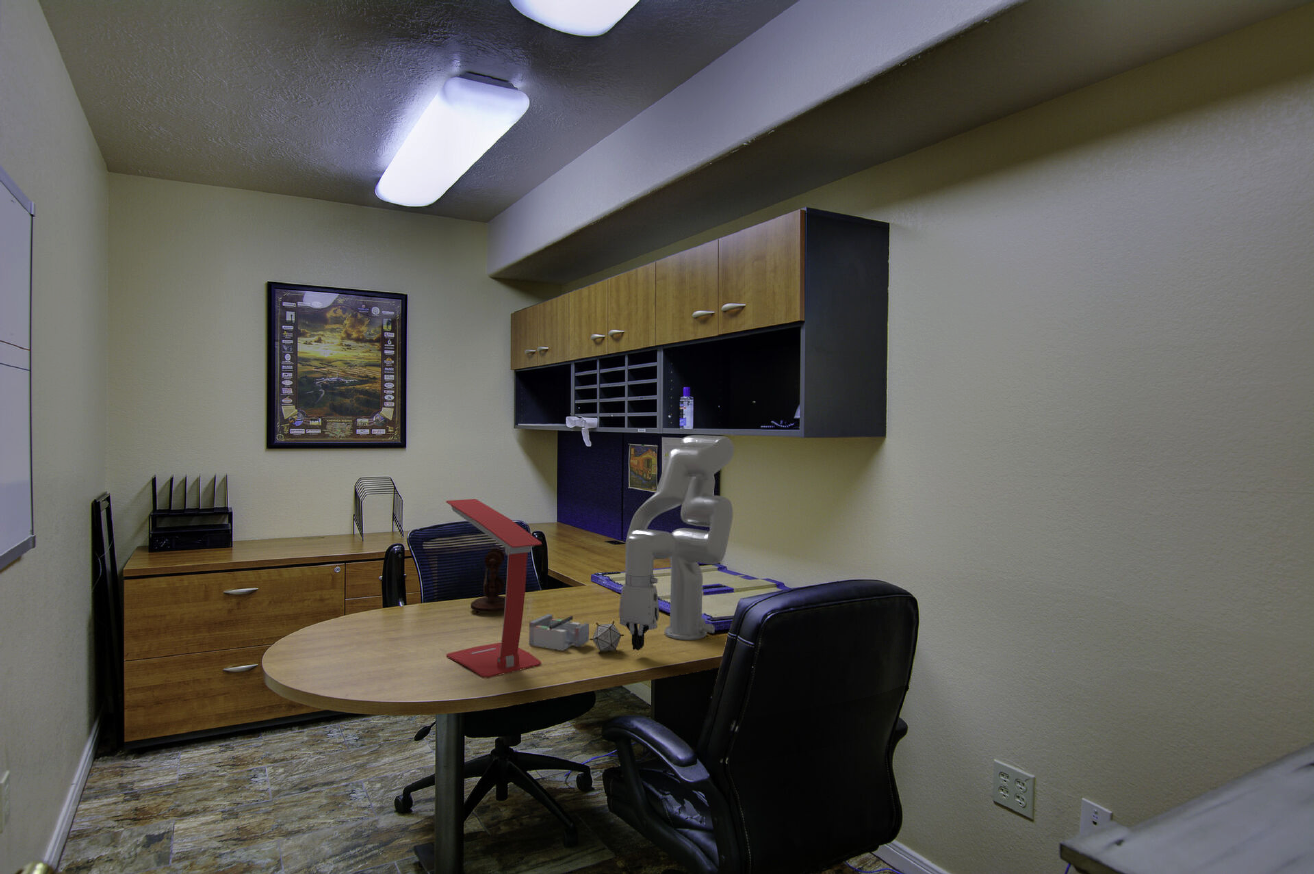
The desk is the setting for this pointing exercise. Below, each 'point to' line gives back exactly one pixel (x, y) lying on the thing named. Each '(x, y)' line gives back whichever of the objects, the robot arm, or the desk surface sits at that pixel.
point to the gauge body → (550, 633)
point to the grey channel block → (574, 632)
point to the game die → (606, 637)
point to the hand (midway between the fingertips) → (637, 648)
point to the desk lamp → (516, 547)
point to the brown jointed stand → (491, 585)
